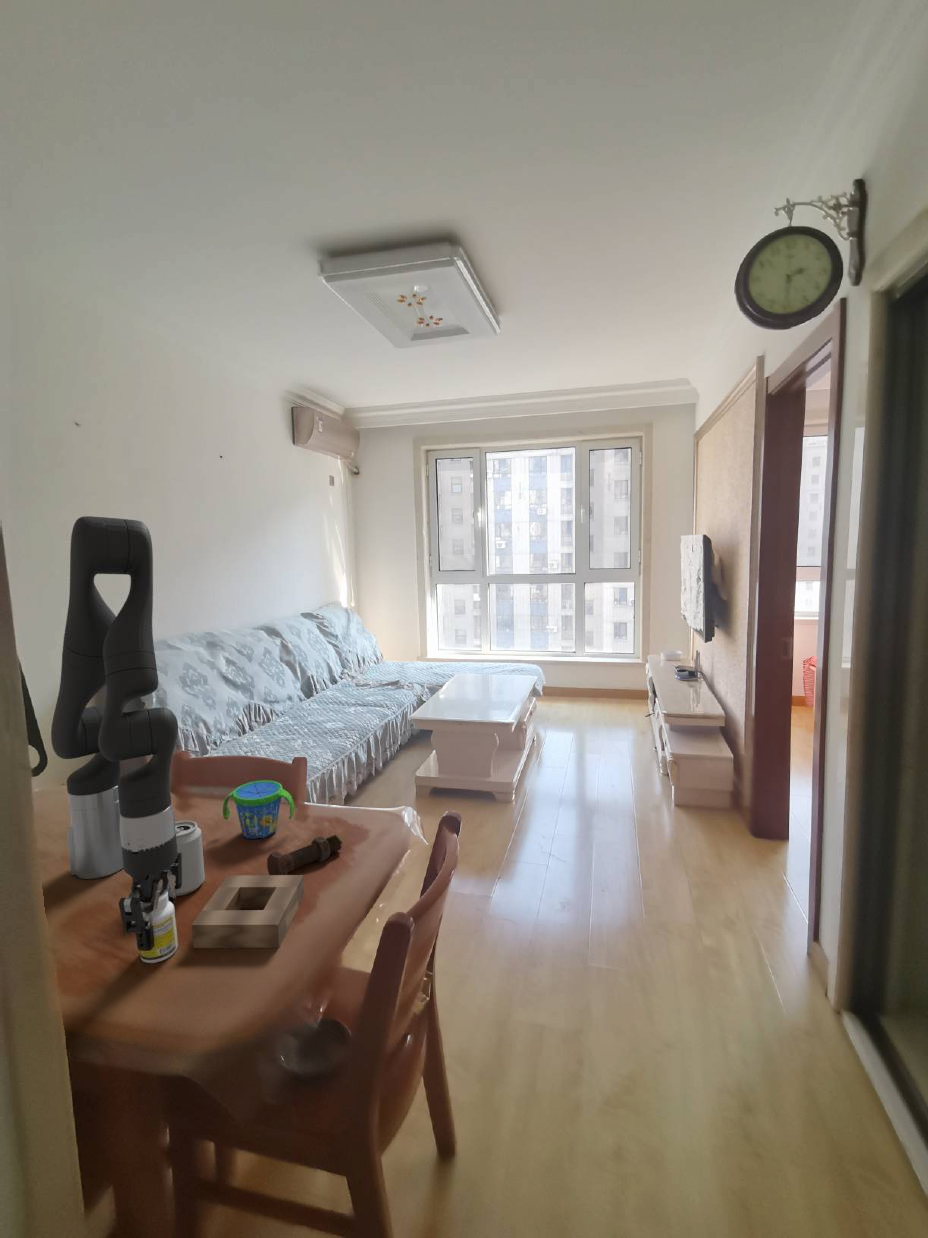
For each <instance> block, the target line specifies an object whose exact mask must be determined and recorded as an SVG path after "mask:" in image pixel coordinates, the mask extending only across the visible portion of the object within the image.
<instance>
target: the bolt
mask: <svg viewBox="0 0 928 1238" xmlns="http://www.w3.org/2000/svg"><path fill="white" fill-rule="evenodd" d="M342 844H343V840H342V839H341V838H340V836H339V835H337V834H334V835H331V836H329V837H326V838H325V837H323V836H317V837H314V839H313V840H312V841H311V843H310V844H309V845H306V846H304V847H301V848H298V849H296V850H293V851H291V852H288V853H285V854H284V853H283V854H282V853H281V852H279V851H278V850H274V851H272V852H270V853H269V855H268V857H267V858H266V862H267V864H266V866H267V871H268V875H288V873H289V872H291V871H293V870H294V869H297V868H299V867H301V866H304V865H306V864H309V863H311V862H314V861H317V862H318V863H319V862H320V863H321V862H322V863H323V862H325V861H326V860H328V859H329V857H330V855H331V854H333V853H336V852H338V851H340V850H341V849H342V847H343V845H342Z"/></svg>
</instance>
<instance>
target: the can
mask: <svg viewBox="0 0 928 1238" xmlns="http://www.w3.org/2000/svg"><path fill="white" fill-rule="evenodd" d="M175 829H176V841H177V853H181V854H182V886H181V888H180V889H177V890H176V892H177V896H176V897H179V896H185V895H187V894H188V895H189V894H190V893H192V892H194V891H196V890H197V889H199V887H200V886H201V885H202V884H203V883H204V881H205V880H206V876H205V863H204V851H203V836H202V829H201V828H200V827H198V823H197V822H196V821H193V820H181V821H175ZM172 877H173V879H174V881H176V877H175V875H172Z"/></svg>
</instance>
